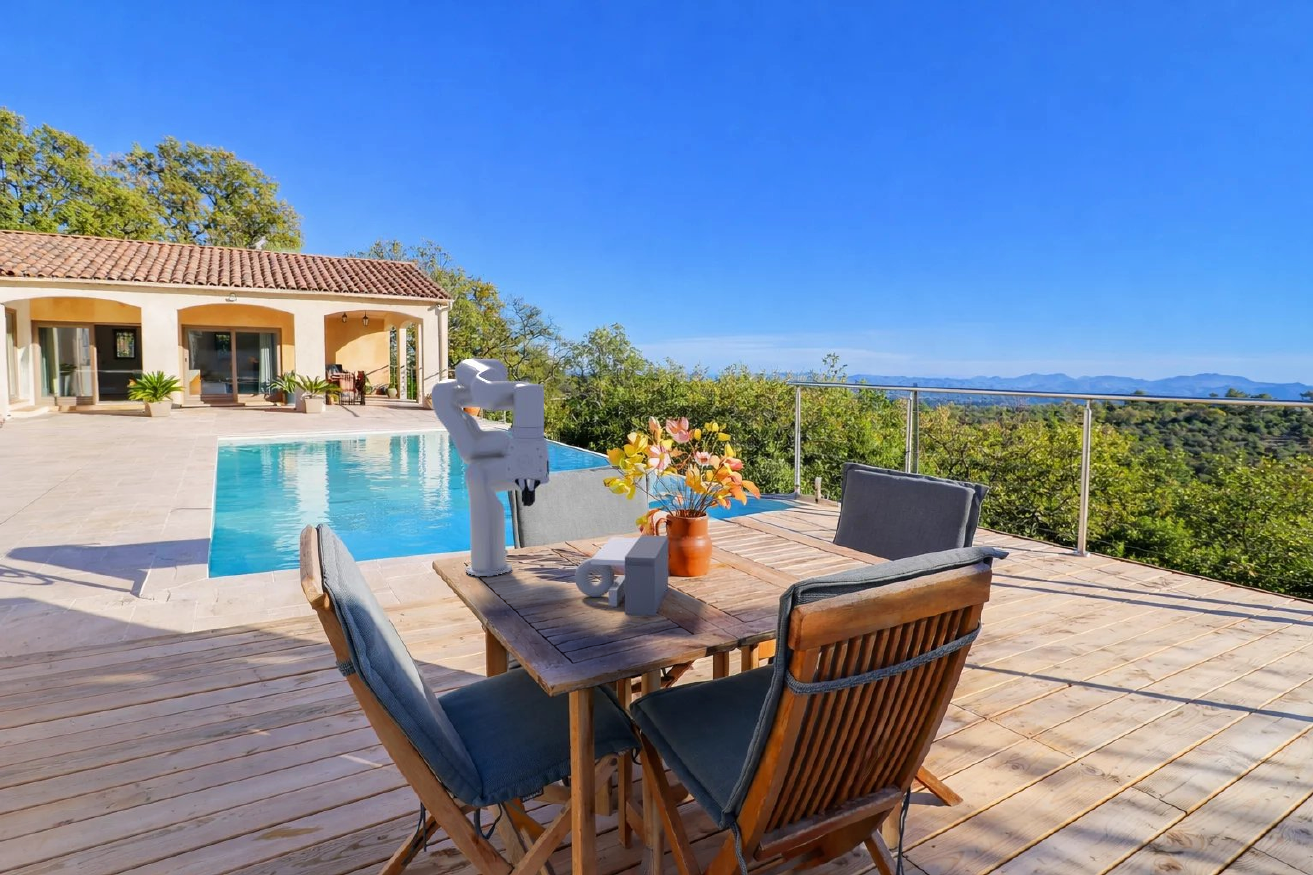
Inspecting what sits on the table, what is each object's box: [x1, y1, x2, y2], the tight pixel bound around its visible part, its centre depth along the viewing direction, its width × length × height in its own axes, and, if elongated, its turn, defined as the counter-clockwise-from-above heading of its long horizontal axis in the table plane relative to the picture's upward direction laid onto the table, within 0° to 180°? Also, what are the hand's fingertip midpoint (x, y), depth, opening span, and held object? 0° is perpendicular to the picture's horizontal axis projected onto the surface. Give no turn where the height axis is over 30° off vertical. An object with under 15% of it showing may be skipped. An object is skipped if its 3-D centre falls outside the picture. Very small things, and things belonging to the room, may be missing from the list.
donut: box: [574, 557, 616, 598], centre depth 176 cm, size 10×3×10 cm, turn 89°
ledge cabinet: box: [591, 534, 669, 617], centre depth 174 cm, size 22×15×14 cm
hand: (528, 504), depth 179 cm, fingers closed
